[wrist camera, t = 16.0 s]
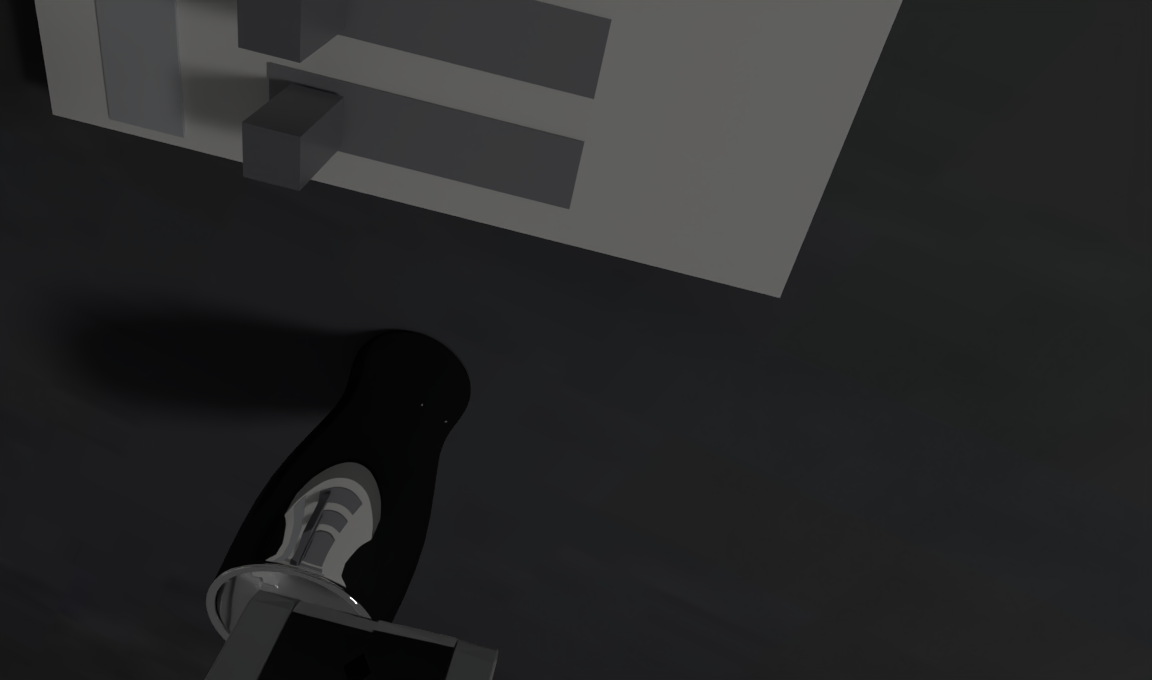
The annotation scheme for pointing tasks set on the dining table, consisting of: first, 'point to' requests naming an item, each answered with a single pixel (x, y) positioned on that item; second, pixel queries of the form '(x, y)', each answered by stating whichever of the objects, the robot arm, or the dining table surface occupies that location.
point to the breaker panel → (511, 111)
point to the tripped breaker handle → (289, 26)
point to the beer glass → (352, 490)
